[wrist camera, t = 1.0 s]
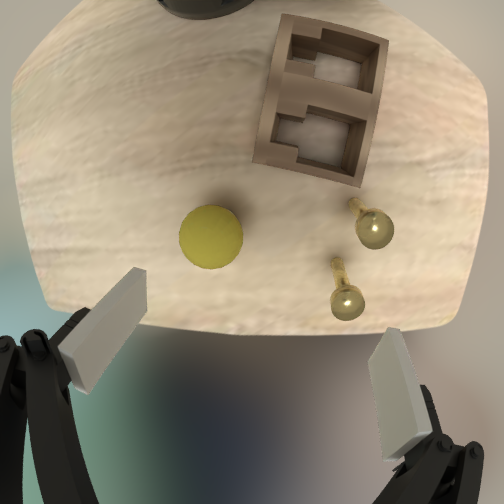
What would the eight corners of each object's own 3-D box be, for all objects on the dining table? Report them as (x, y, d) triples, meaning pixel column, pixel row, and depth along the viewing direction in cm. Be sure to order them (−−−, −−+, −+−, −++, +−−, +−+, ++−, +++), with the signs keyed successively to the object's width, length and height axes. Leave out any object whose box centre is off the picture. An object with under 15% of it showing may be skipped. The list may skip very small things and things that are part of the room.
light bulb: (239, 184, 33) (217, 203, 24) (260, 233, 36) (247, 269, 26) (191, 204, 35) (157, 229, 26) (213, 250, 37) (188, 288, 28)
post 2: (345, 187, 32) (364, 208, 22) (371, 194, 31) (398, 218, 22) (338, 213, 33) (353, 244, 24) (363, 220, 33) (386, 253, 24)
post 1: (328, 248, 35) (338, 288, 26) (352, 254, 35) (370, 295, 26) (320, 271, 36) (326, 317, 27) (344, 277, 36) (357, 323, 27)
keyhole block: (285, 39, 26) (281, 13, 18) (369, 60, 25) (388, 40, 18) (262, 156, 32) (251, 162, 24) (345, 176, 31) (360, 188, 24)
